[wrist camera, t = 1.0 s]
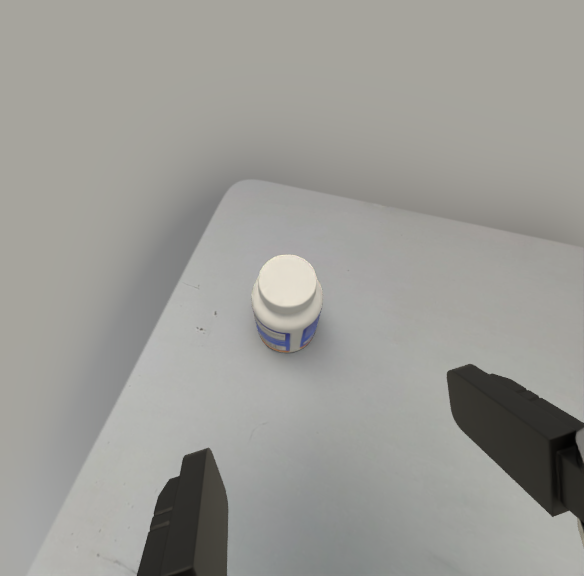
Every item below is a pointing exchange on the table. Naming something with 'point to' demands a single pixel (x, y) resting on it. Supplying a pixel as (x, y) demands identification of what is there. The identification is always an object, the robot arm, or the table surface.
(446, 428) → the table surface
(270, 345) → the pill bottle
